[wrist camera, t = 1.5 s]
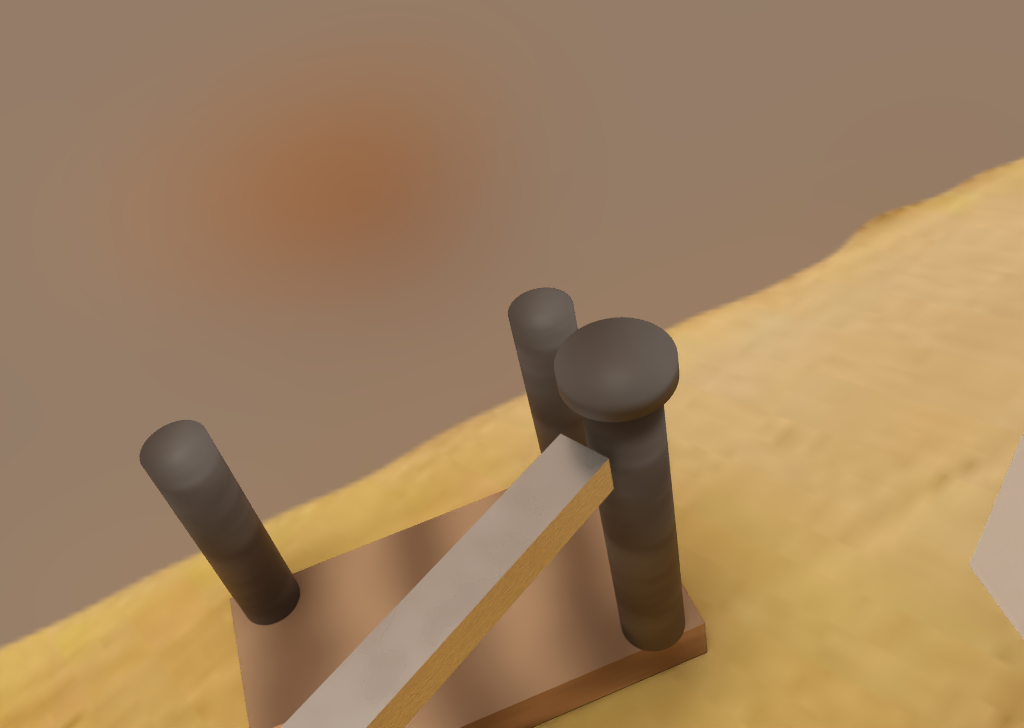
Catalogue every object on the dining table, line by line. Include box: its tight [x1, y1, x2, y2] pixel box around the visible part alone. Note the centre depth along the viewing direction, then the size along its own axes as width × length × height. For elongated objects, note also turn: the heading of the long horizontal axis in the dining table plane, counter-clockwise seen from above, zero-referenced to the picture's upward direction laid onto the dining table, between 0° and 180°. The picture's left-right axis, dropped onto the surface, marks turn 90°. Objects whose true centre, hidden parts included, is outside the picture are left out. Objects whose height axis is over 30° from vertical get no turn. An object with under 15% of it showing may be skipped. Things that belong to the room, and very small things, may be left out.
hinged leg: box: [281, 434, 614, 728], centre depth 33 cm, size 16×3×13 cm, turn 140°
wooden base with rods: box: [140, 288, 707, 728], centre depth 40 cm, size 20×13×19 cm, turn 110°
